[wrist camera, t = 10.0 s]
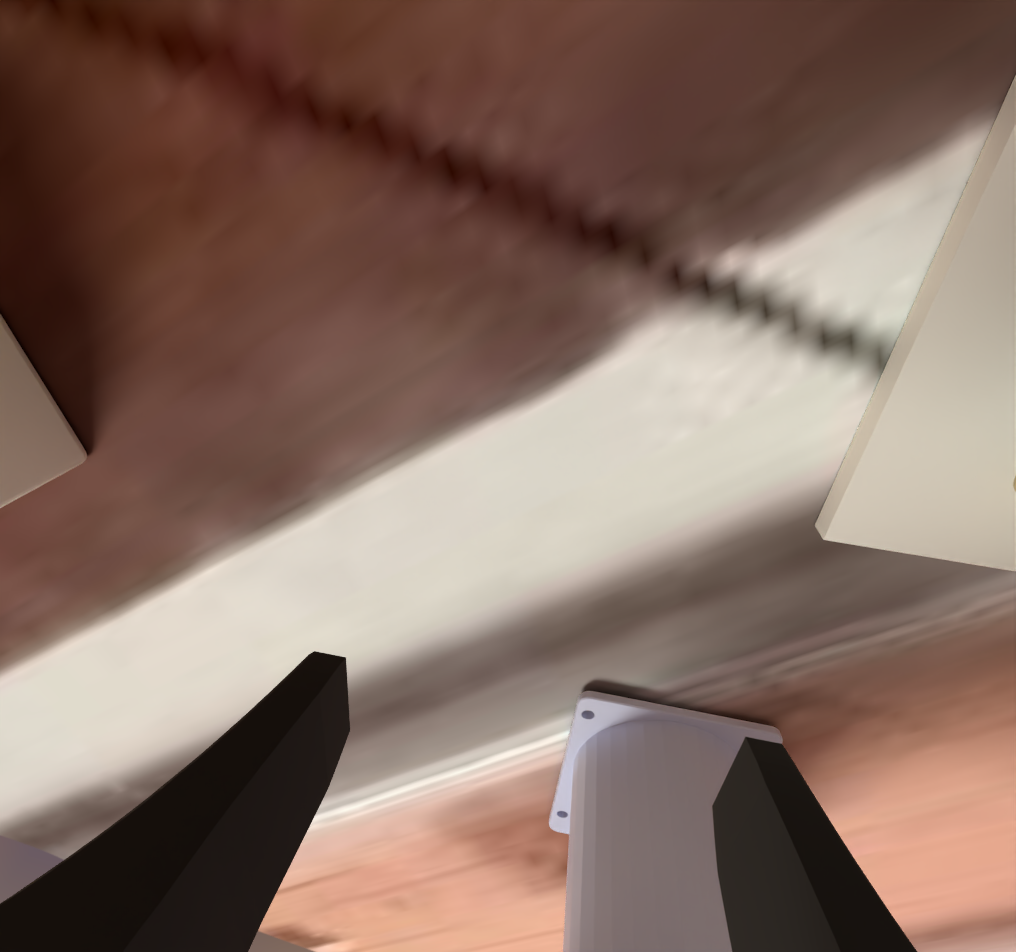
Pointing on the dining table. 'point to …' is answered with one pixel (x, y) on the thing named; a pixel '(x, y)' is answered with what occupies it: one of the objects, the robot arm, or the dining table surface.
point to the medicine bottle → (30, 426)
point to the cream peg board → (947, 394)
